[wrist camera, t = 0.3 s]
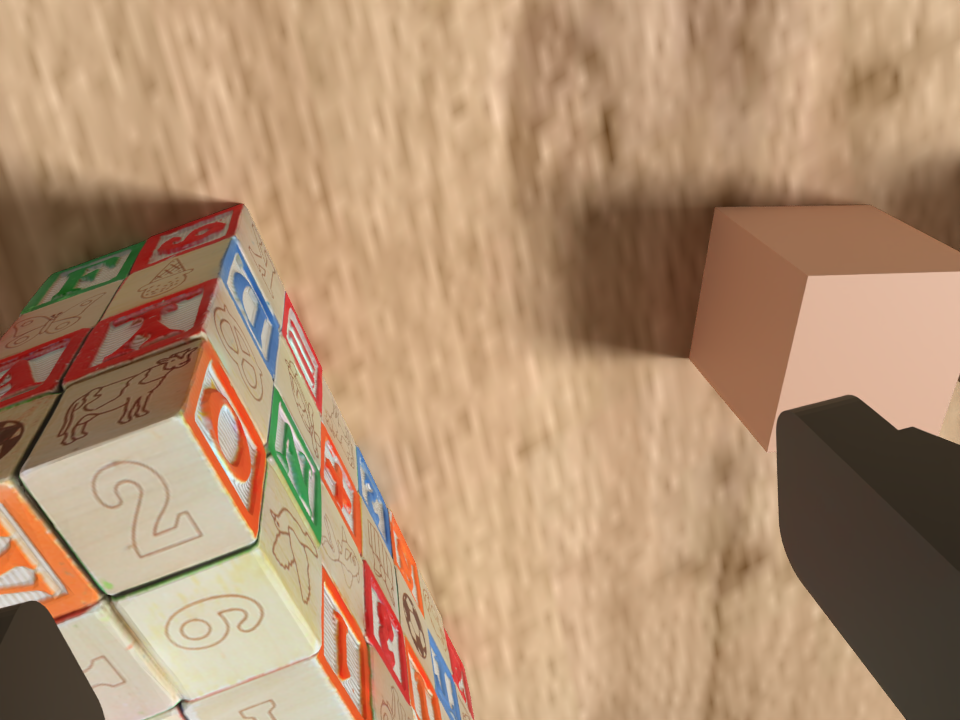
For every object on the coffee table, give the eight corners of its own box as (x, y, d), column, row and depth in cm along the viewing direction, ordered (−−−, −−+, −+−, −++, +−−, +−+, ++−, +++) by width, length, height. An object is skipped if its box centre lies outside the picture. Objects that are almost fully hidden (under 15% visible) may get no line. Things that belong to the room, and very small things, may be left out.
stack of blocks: (469, 664, 35) (534, 996, 24) (328, 716, 35) (330, 1070, 24) (242, 195, 25) (180, 414, 14) (42, 270, 25) (-176, 545, 14)
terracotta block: (714, 206, 27) (808, 275, 22) (869, 204, 28) (995, 270, 23) (688, 357, 30) (766, 452, 24) (831, 351, 31) (936, 441, 25)
